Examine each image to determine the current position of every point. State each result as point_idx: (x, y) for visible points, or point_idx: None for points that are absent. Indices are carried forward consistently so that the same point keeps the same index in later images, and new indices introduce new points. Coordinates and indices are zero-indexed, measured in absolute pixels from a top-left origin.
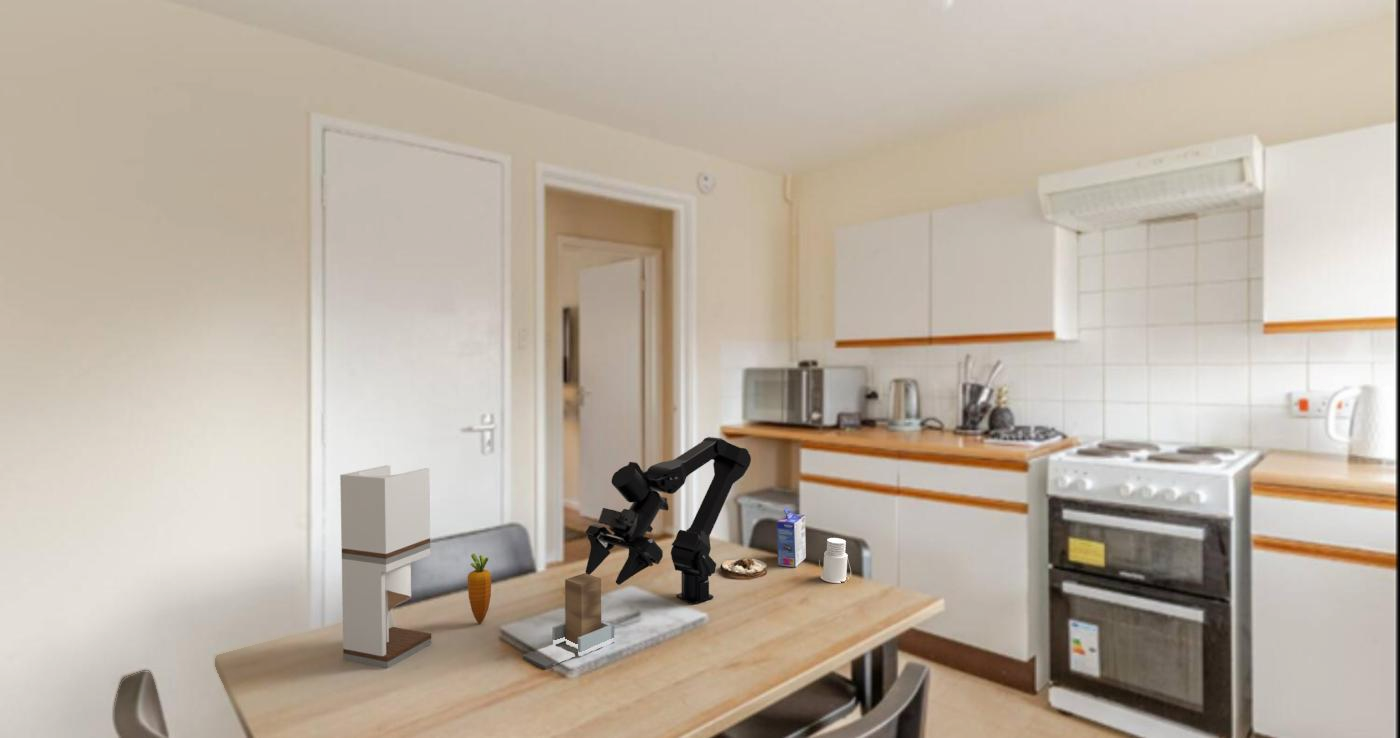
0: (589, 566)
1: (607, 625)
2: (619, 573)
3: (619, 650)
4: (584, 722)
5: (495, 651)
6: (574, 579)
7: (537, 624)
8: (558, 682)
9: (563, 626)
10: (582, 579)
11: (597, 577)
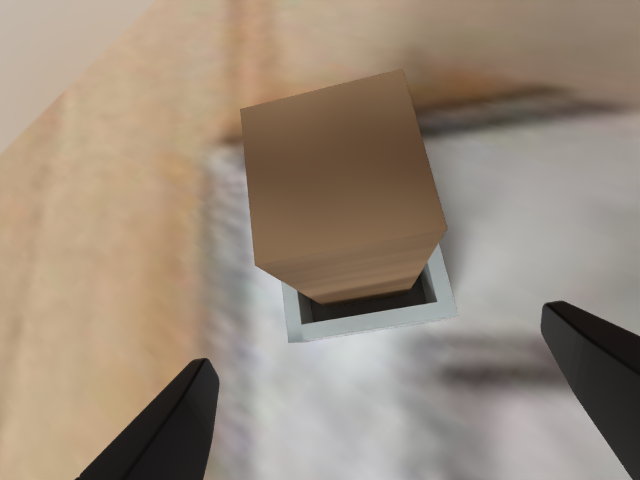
0: (581, 336)
1: (308, 324)
2: (170, 405)
3: (248, 322)
4: (63, 104)
5: (464, 57)
6: (361, 114)
7: (610, 214)
8: (212, 121)
9: None
10: (322, 153)
11: (289, 254)
